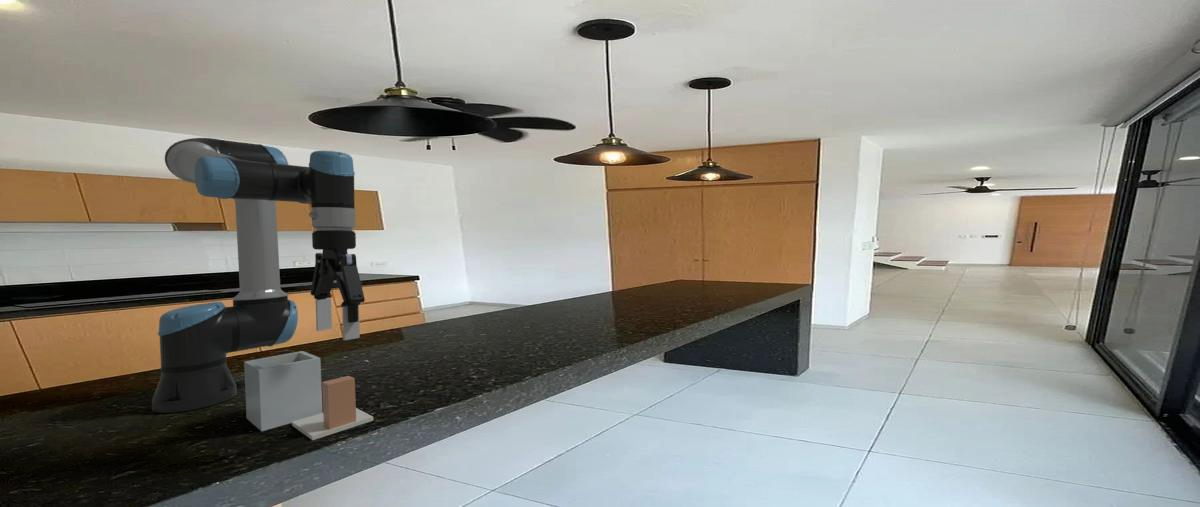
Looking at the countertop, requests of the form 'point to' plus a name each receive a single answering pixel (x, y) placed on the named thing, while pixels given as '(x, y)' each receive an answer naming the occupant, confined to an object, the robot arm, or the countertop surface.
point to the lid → (334, 410)
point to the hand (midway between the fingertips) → (337, 334)
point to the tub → (282, 389)
